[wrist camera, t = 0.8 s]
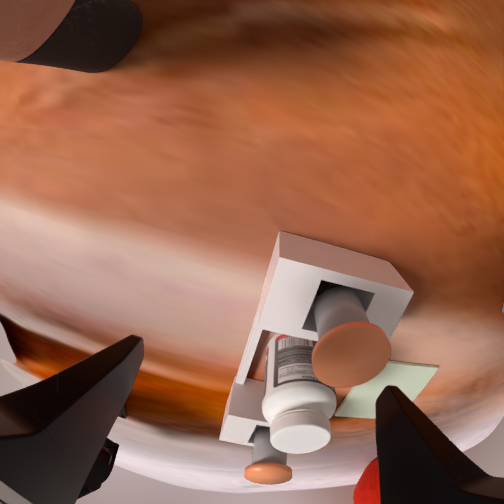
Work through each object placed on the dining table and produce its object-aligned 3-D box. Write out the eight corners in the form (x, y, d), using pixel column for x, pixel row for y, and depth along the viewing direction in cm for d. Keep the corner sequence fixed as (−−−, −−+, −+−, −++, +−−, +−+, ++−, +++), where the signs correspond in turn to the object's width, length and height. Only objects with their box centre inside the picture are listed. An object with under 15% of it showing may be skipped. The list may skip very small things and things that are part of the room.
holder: (304, 417, 28) (306, 453, 23) (226, 403, 28) (218, 439, 23) (389, 261, 20) (413, 292, 16) (279, 230, 20) (279, 257, 16)
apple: (339, 473, 34) (344, 534, 23) (370, 446, 30) (382, 517, 19) (388, 471, 34) (397, 525, 23) (421, 443, 30) (437, 504, 19)
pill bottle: (304, 376, 25) (309, 463, 16) (255, 356, 25) (243, 447, 16) (338, 339, 23) (358, 429, 14) (286, 315, 23) (287, 410, 14)
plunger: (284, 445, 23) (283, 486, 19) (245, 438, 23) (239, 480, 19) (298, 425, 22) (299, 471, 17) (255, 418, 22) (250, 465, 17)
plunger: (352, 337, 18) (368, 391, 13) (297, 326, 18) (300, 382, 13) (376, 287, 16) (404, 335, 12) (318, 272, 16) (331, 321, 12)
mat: (396, 416, 27) (397, 418, 27) (333, 413, 27) (334, 416, 27) (437, 365, 24) (438, 367, 24) (371, 357, 24) (372, 360, 24)
